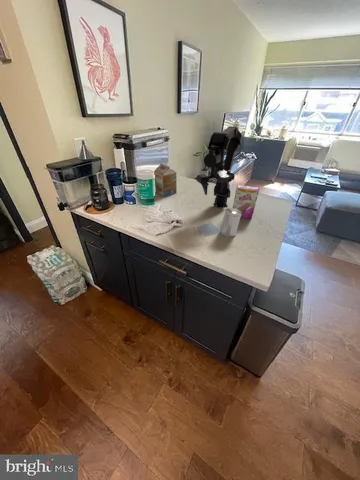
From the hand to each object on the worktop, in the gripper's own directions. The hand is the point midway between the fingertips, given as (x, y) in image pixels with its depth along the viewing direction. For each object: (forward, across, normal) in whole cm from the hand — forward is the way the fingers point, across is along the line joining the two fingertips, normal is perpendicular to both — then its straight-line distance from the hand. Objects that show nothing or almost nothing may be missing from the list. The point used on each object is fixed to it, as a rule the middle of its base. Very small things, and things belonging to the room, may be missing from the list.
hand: (213, 193), depth 102 cm
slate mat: (+13, -8, -12) cm, 20 cm away
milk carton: (+13, -13, +41) cm, 45 cm away
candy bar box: (+13, +16, -6) cm, 22 cm away
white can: (+13, -1, -18) cm, 22 cm away
